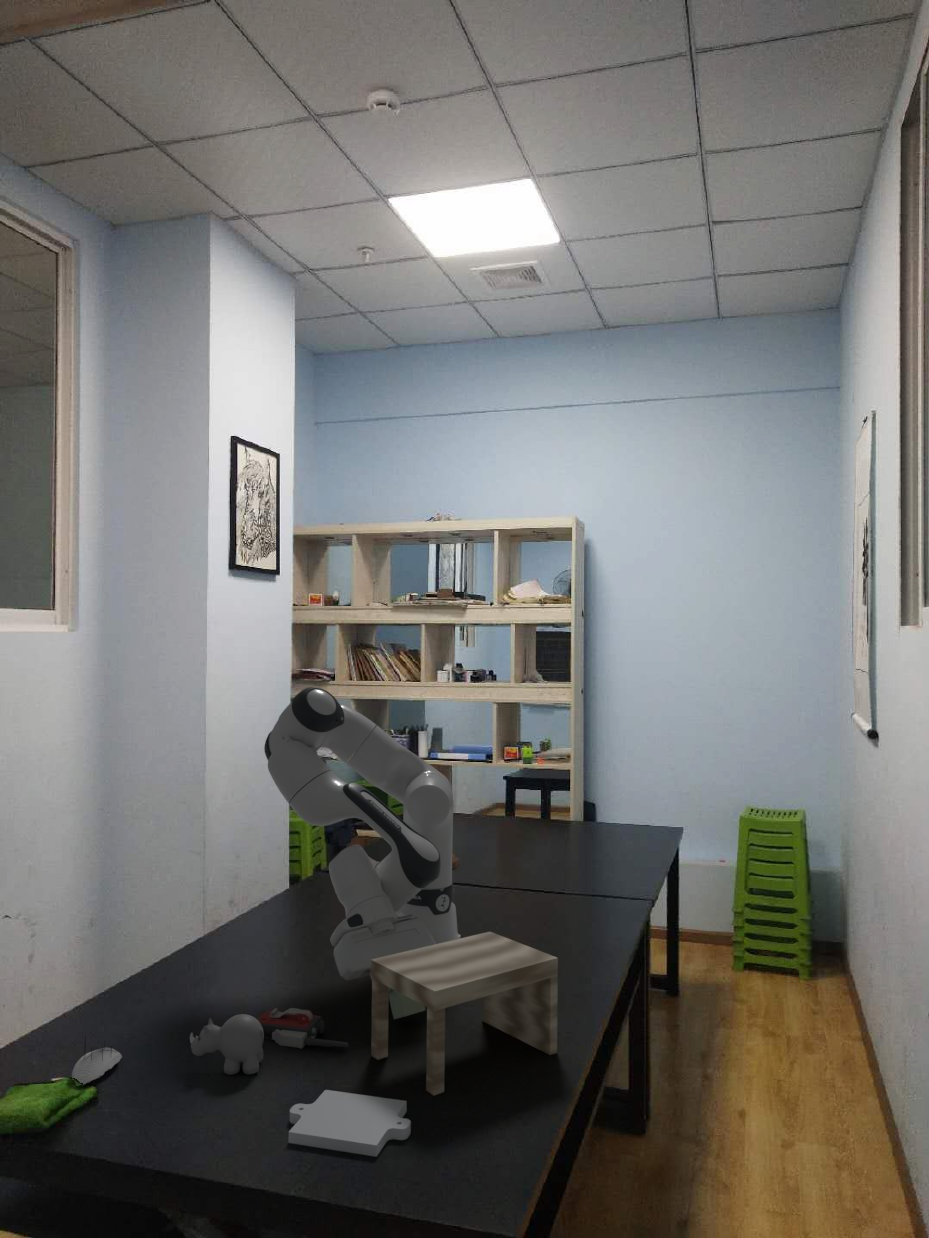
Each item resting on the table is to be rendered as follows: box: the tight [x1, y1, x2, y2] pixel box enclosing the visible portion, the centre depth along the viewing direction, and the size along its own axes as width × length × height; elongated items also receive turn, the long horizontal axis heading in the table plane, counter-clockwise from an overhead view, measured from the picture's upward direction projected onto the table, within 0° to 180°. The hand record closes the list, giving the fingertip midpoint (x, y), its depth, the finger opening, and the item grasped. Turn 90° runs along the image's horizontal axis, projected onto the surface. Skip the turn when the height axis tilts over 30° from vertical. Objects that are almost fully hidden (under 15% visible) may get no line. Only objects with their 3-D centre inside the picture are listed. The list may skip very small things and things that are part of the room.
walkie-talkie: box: [253, 1007, 349, 1050], centre depth 171 cm, size 9×4×20 cm
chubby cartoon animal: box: [189, 1013, 265, 1076], centre depth 159 cm, size 7×12×8 cm, turn 88°
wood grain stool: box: [370, 931, 559, 1096], centre depth 165 cm, size 18×26×16 cm
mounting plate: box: [288, 1089, 412, 1157], centre depth 140 cm, size 18×13×2 cm
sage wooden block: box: [389, 990, 426, 1020], centre depth 179 cm, size 4×4×8 cm
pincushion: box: [71, 1035, 123, 1085], centre depth 157 cm, size 12×6×6 cm, turn 173°
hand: (402, 988), depth 179 cm, fingers closed on sage wooden block, 4 cm apart
